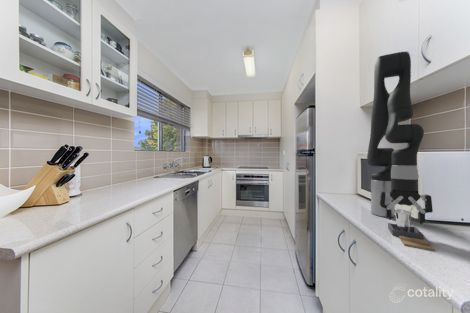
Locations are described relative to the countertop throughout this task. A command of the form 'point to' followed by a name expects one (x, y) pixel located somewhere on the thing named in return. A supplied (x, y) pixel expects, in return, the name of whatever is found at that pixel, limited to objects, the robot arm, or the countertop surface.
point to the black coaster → (416, 234)
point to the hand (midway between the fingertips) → (404, 221)
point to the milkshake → (403, 219)
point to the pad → (416, 243)
